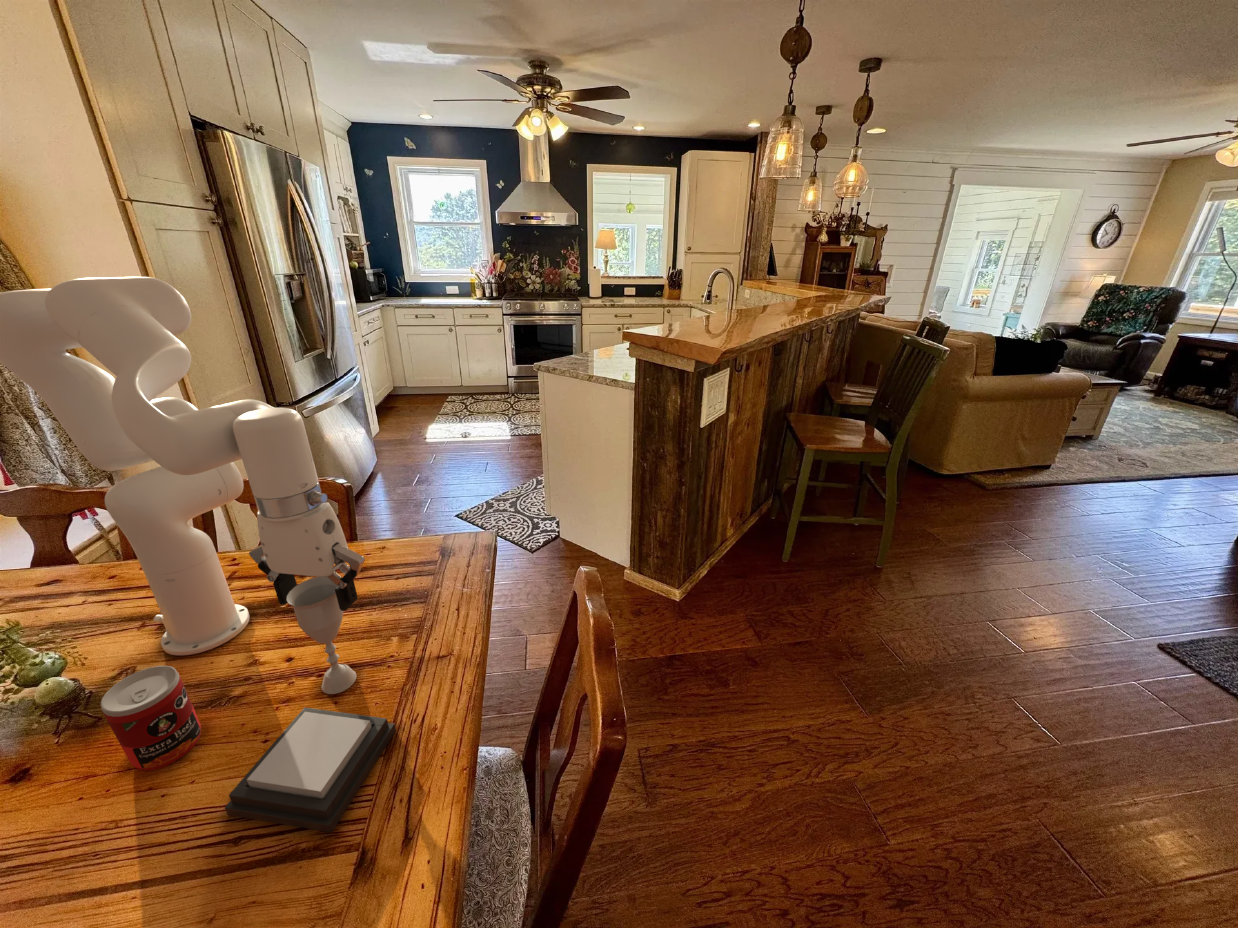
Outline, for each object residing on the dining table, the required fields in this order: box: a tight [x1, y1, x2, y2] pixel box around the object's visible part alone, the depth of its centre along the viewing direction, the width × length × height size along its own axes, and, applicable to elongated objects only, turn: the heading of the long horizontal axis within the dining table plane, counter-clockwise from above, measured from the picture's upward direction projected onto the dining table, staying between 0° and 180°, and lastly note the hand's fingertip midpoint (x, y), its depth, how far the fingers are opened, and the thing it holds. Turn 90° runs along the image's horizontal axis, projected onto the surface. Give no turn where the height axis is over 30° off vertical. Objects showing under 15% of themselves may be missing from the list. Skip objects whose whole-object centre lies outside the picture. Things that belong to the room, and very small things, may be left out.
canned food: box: [100, 665, 202, 772], centre depth 67 cm, size 8×8×11 cm
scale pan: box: [247, 712, 372, 800], centre depth 65 cm, size 10×10×2 cm
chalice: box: [287, 576, 357, 695], centre depth 76 cm, size 7×7×18 cm
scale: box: [224, 706, 397, 834], centre depth 66 cm, size 14×14×3 cm
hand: (319, 601), depth 73 cm, fingers open, 9 cm apart
